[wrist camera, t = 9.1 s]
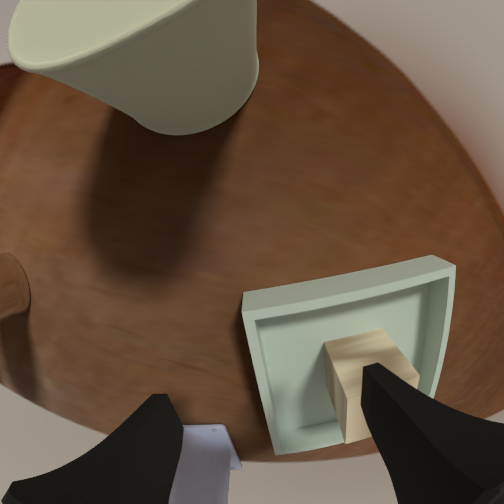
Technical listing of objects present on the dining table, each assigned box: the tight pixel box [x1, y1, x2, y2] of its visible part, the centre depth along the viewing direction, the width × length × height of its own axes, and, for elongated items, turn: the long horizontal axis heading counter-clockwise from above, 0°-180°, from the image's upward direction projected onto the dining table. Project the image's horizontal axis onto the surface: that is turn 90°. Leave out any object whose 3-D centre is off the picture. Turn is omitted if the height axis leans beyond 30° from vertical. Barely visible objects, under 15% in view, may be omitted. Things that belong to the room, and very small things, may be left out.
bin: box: [242, 255, 456, 455], centre depth 18 cm, size 14×14×3 cm
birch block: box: [324, 328, 420, 444], centre depth 15 cm, size 4×4×6 cm
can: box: [7, 0, 259, 135], centre depth 9 cm, size 9×9×12 cm
